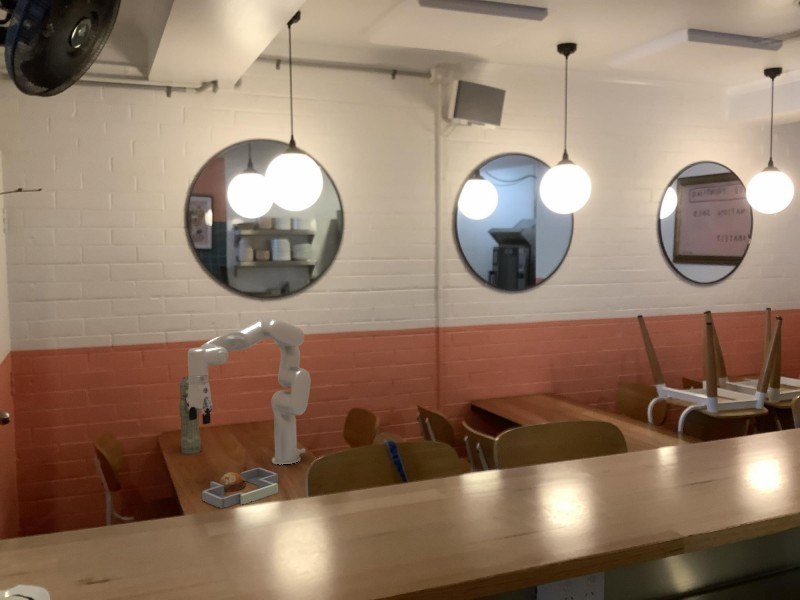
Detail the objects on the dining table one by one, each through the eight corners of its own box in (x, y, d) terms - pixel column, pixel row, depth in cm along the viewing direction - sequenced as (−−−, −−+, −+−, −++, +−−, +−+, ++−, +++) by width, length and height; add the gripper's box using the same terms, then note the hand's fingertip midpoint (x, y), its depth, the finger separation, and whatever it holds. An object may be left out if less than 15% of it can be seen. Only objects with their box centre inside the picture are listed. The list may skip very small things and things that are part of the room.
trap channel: (259, 475, 302) (258, 467, 302) (293, 487, 287) (292, 478, 287) (192, 496, 279) (191, 487, 279) (225, 510, 264) (225, 501, 264)
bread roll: (226, 492, 293) (217, 475, 292) (249, 480, 294) (240, 463, 293) (222, 501, 284) (212, 483, 283) (246, 489, 284) (236, 471, 283)
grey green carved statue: (181, 456, 330) (178, 380, 326) (180, 449, 341) (177, 375, 337) (202, 454, 332) (198, 379, 329) (200, 447, 344) (197, 374, 340)
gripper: (219, 380, 283) (220, 423, 285) (194, 375, 295) (196, 416, 296) (202, 383, 278) (203, 427, 279) (178, 377, 289) (179, 419, 291)
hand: (199, 421), depth 288 cm, fingers open, 9 cm apart
